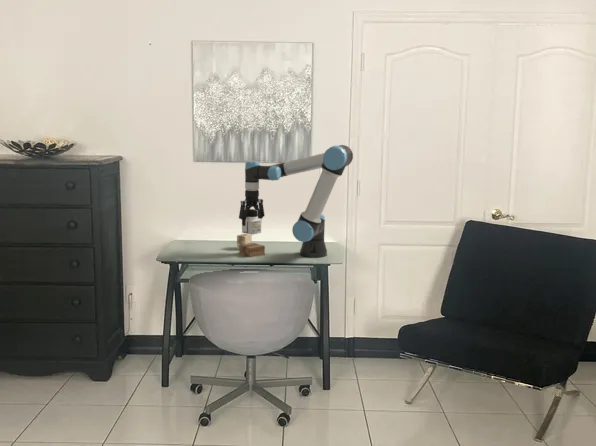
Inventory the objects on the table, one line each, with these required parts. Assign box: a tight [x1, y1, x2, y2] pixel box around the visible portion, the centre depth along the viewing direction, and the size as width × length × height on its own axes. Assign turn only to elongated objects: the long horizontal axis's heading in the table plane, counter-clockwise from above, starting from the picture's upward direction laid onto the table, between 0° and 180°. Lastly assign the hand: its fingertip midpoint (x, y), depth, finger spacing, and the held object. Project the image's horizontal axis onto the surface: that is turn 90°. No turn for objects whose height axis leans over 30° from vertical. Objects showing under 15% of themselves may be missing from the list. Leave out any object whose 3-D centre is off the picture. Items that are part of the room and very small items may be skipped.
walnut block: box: [238, 242, 266, 258], centre depth 353 cm, size 10×10×5 cm
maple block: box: [236, 233, 253, 250], centre depth 366 cm, size 6×6×8 cm
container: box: [241, 208, 262, 236], centre depth 350 cm, size 8×8×13 cm
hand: (251, 230), depth 351 cm, fingers closed on container, 8 cm apart
